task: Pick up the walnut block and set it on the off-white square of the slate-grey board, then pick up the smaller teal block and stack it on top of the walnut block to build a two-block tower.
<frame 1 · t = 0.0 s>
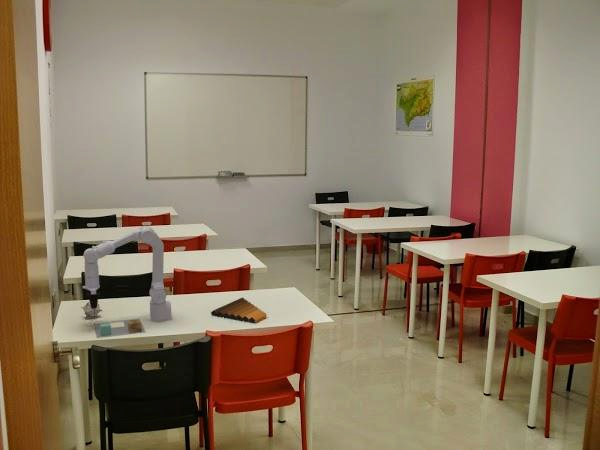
hand: (93, 306, 266), 10 cm above the table, tool pointing down, fingers open, 7 cm apart
pan flute: (247, 313, 291), on the table
teal block: (106, 333, 258), point 1 cm above the table, touching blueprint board
grey spiky ball: (92, 317, 282), on the table
walnut block: (134, 330, 262), point 1 cm above the table, touching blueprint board
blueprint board: (119, 329, 265), on the table
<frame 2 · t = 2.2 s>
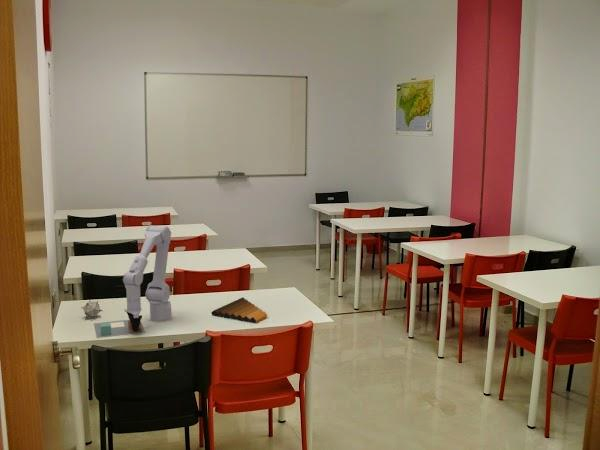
hand: (134, 329, 262), 1 cm above the table, tool pointing down, fingers closed on walnut block, 5 cm apart
walnut block: (134, 330, 262), point 1 cm above the table, touching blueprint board, gripper
everything else where it was.
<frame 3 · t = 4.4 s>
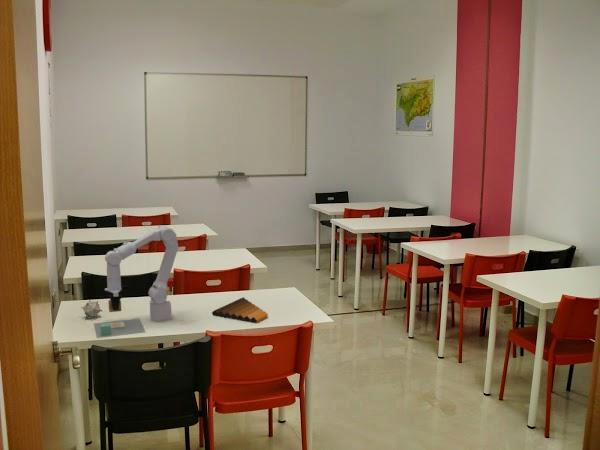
hand: (115, 308, 267), 9 cm above the table, tool pointing down, fingers closed on walnut block, 5 cm apart
walnut block: (115, 310, 267), point 8 cm above the table, touching gripper
everything else where it was.
when the fingers open (3 cm above the table, at t = 6.3 s): walnut block stays where it is, resting on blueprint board.
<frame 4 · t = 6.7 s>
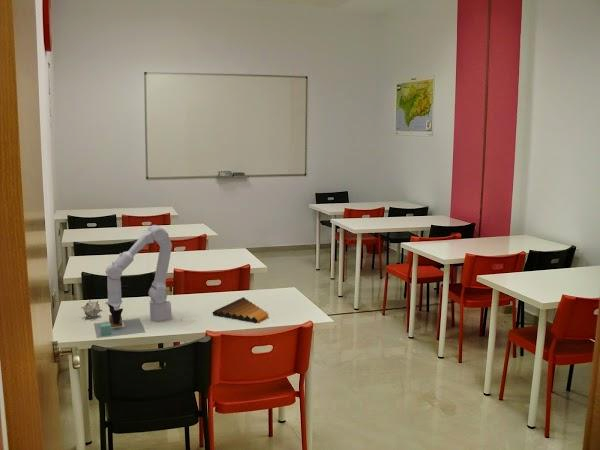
hand: (115, 321, 268), 3 cm above the table, tool pointing down, fingers open, 7 cm apart
walnut block: (115, 324, 269), point 1 cm above the table, touching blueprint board
everything else where it was.
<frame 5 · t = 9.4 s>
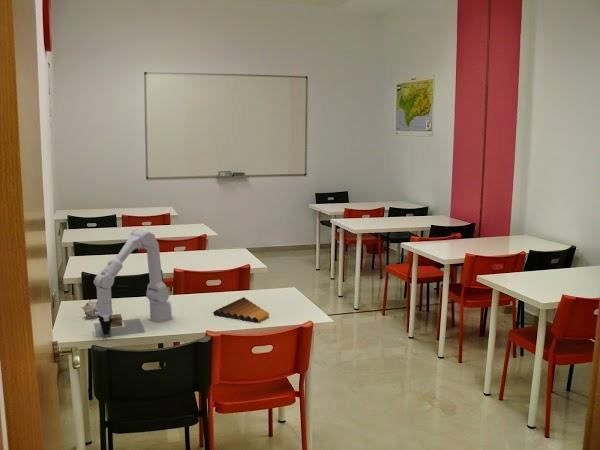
hand: (105, 332, 257), 1 cm above the table, tool pointing down, fingers closed on teal block, 4 cm apart
teal block: (106, 333, 258), point 1 cm above the table, touching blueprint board, gripper
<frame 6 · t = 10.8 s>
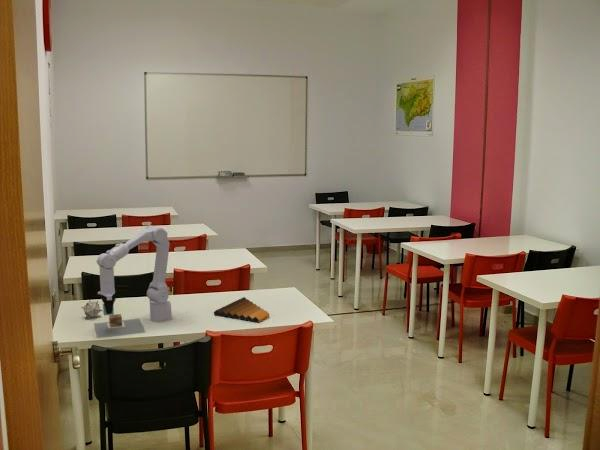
hand: (108, 312, 260), 9 cm above the table, tool pointing down, fingers closed on teal block, 4 cm apart
teal block: (108, 313, 260), point 9 cm above the table, touching gripper
when the fingers open (7 cm above the table, at t = 12.6 s): teal block stays where it is, resting on walnut block.
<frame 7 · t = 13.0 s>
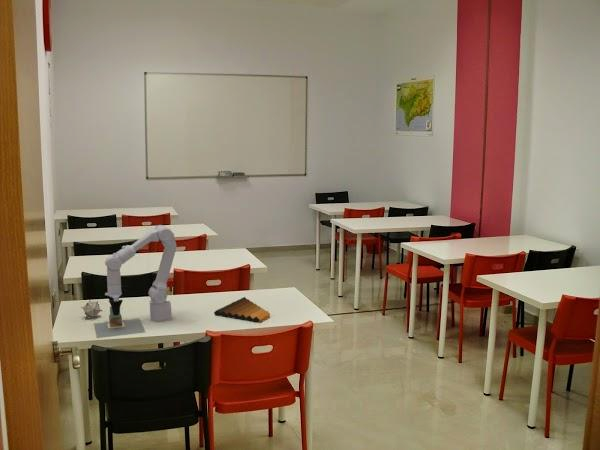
hand: (115, 312, 268), 7 cm above the table, tool pointing down, fingers open, 7 cm apart
teal block: (115, 316, 268), point 5 cm above the table, touching walnut block
walnut block: (115, 324, 269), point 1 cm above the table, touching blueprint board, teal block
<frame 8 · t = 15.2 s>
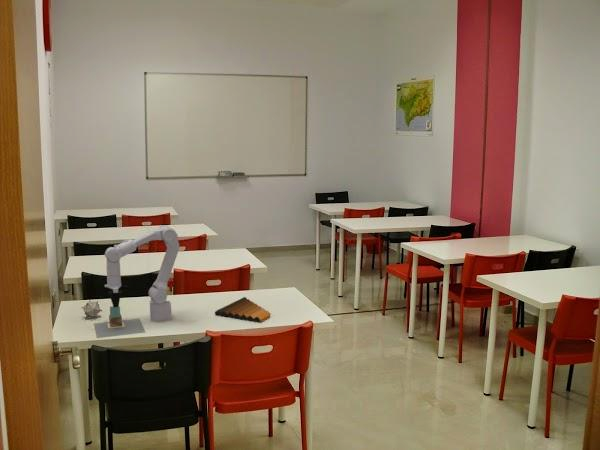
hand: (115, 304, 267), 10 cm above the table, tool pointing down, fingers open, 7 cm apart
at the end: walnut block 0.1 cm from the target spot, point 1.0 cm above the table; teal block 0.1 cm off-centre on the walnut block, point 4.0 cm above the walnut block's base; teal block tilted 0° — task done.
